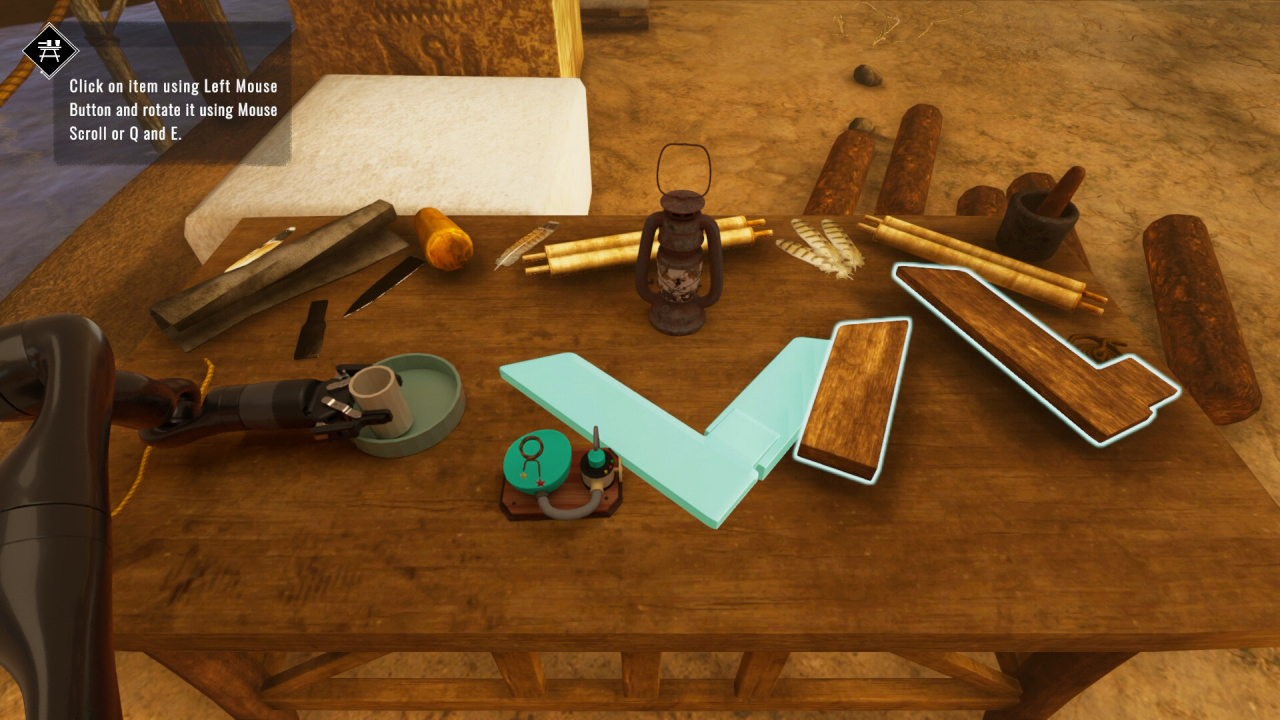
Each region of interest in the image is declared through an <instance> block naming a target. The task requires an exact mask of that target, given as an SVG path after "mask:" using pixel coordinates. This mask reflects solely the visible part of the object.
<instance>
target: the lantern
mask: <svg viewBox="0 0 1280 720" xmlns="http://www.w3.org/2000/svg"><path fill="white" fill-rule="evenodd" d="M669 146H687V147H699V148H701V149H703V151H704V152H705V153H706V157H707V161H708V167H709V169H708V170H709V178H708V185H707V187H706V190H705V192H704V193H703V194H700V193H699V192H696V191H693V190H691V189H690V190H689V189H675V190H670V191H667V192H665V191H663V190H662V188H661V186H660V182H659V173H660V172H659V170H660V163H661V159H662V155H663V154H664V151H665V149H666V148H668V147H669ZM655 174H656V176H655V177H656V186H657V188H658V190H659V192H660V193H661V194H662V195H661V197H660V199H659V204H660V207H661V208H662V210H660V211H655V212H652V213H651V214H648V216H647V218H645V221H644V224H643V226H642V231H641V234H640V239H639V240H640V241H639V245H638V252H637V258H636V263H635V264H636V265H635V271H634V272H635V274H634V285H635V291H636V292H637V295H638V296H639V297H640V299H642V300H643V301H644V302H646V303H648V304H651V306H650V307H649V309H648V320H649V322H650V324H651V326H652V327H653V329H655V330H657V331H658V332H660V333H662V334H664V335H668V336H673V337H674V336H675V337H682V336H689V335H691V334H694V333H696V332H698V331H699V330H700V329H702V327H703V326H704V324H705V322H706V318H707V317H706V316H707V315H706V309H708V308H710V307H712V306H714V305H716V304H717V303H718V302H719V301H720V299H721V297H722V294H723V289H724V260H723V259H724V258H723V249H722V248H723V247H722V237H721V231H720V227H719V223H718V222H717V221H716V219H714V217H713V216H712V215H711V216H710V215H708V214H705V213H702V210H703V208H704V207H705V205H706V200H705V198H704V197H705V196H707V194H708V193H709V191H710V188H711V183H712V161H711V156H710V154H709V151H708V149H707V147H705V146H704V145H702V144H700V143H699V144H698V143H688V142H669V143H666V144H665V145H664V146H663V147H662V148H661V150H660V153H659V156H658V159H657V165H656V173H655ZM657 230H658V234H657V242H658V244H659V245H658V248H657V252H656V265H657V266H656V274H657V280H656V279H655V278H653V277H652V278H650V280H649V268H650V260H651V258H652V257H651V256H652V251H653V246H654V241H655V236H656V233H657ZM704 233H705V235H704ZM705 237H706V244H707V253H708V263H709V275H710V282H709V283H710V284H709V285H710V286H709V290H708V292H707V294H705V295H700V294H699V293H698V291H699V290H700V289H701V288H702V287H703V286H702V284H701V276H702V272H703V264H704V263H703V262H704V257H705V256H704V252H703V251H704V249H703V247H702V246H703V244H704V243H705ZM689 273H691V274H692V275H693V276H694V279H693V278H692V277H690V276H688V275H689ZM664 275H667V276H668V278H670V279H666V278H665V277H664ZM674 281H676V282H674ZM681 281H682V282H681ZM655 283H656V287H658V290H659V291H658V292H656V291H652V290H651V289H650V287H649V285H652V286H654V285H655Z"/></svg>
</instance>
